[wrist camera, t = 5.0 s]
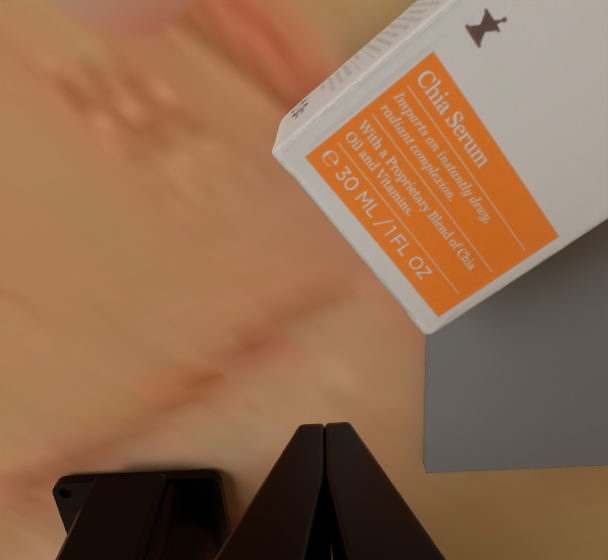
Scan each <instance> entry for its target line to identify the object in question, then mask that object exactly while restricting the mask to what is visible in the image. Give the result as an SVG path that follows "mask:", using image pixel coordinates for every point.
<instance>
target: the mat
mask: <svg viewBox="0 0 608 560" xmlns="http://www.w3.org/2000/svg"><path fill="white" fill-rule="evenodd" d="M423 462H424V466H425V470H426V473H437V472H461V471H484V470H507V469H530V468H554V467H577V466H600V465H608V219H607V220H605V221H604V222H602V223H601V224H599V225H598V226H596V227H595V228H593V229H592V230H590V231H589V232H587V233H585V234H584V235H582V236H581V237H579V238H578V239H576V240H575V241H573V242H572V243H570V244H569V245H567V246H566V247H565V248H563V249H562V250H560V251H558V252H557V253H555V254H554V255H552V256H550V257H549V258H547V259H546V260H545V261H543V262H542V263H540V264H539V265H537V266H535V267H534V268H533V269H531V270H530V271H528V272H527V273H525V274H524V275H522V276H521V277H519V278H517V279H516V280H514V281H513V282H511V283H510V284H508V285H507V286H505V287H504V288H502V289H501V290H499V291H498V292H496V293H495V294H493V295H492V296H490V297H488V298H487V299H485V300H484V301H482V302H481V303H479V304H478V305H476V306H475V307H473V308H472V309H470V310H469V311H467V312H466V313H464V314H463V315H461V316H460V317H458V318H457V319H455V320H454V321H452V322H450V323H449V324H447V325H446V326H444V327H443V328H441V329H440V330H438V331H437V332H435V333H433V334H426V358H425V404H424V450H423Z"/></svg>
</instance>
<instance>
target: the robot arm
mask: <svg viewBox="0 0 608 560" xmlns="http://www.w3.org/2000/svg"><path fill="white" fill-rule="evenodd" d="M205 482H208V483H211V484H210V485H209V484H206V483H205ZM67 489H68V490H67ZM53 496H54V499H55V501H56V504H57V507H58V510H59V513H60V516H61V518H62V521H63V524H64V527H65V530H66V532H67V537H66V539H65V541H64V543H63V545H62V547H61V549H60V551H59V553H58V555H57V558H56V560H332V556H333V560H446V559H445V558H444V556H443V555H442V554H441V552H440V551H439V549H438V548H437V546H436V545H435V544H434V542H433V541H432V539H431V538H430V536H429V535H428V534H427V532H426V531H425V529H424V528H423V526H422V525H421V524H420V522H419V521H418V519H417V518H416V516H415V515H414V514H413V512H412V511H411V509H410V508H409V507H408V505H407V504H406V502H405V501H404V499H403V498H402V497H401V495H400V494H399V492H398V491H397V489H396V488H395V487H394V485H393V484H392V482H391V481H390V479H389V478H388V477H387V475H386V474H385V472H384V471H383V469H382V468H381V467H380V465H379V464H378V462H377V461H376V459H375V458H374V457H373V455H372V454H371V452H370V451H369V449H368V448H367V447H366V445H365V444H364V442H363V441H362V439H361V438H360V437H359V435H358V434H357V432H356V431H355V429H354V428H353V427H352V425H351V424H350V423H348V422H340V423H328V424H326V426H325V427H324V425H323V424H303V425H300V426H299V427H298V429H297V430H296V432H295V433H294V435H293V437H292V438H291V440H290V441H289V443H288V444H287V446H286V448H285V449H284V451H283V452H282V454H281V455H280V457H279V459H278V460H277V462H276V463H275V465H274V467H273V468H272V470H271V471H270V473H269V474H268V476H267V478H266V479H265V481H264V482H263V484H262V485H261V487H260V489H259V490H258V492H257V493H256V495H255V497H254V498H253V500H252V501H251V503H250V504H249V506H248V508H247V509H246V511H245V512H244V514H243V515H242V517H241V519H240V520H239V522H238V523H237V525H236V527H235V528H234V530H233V531H232V533H231V528H230V522H229V516H228V511H227V505H226V500H225V494H224V489H223V483H222V478H221V476H220V475H219V474H218V473H217V472H215V471H213V470H188V471H166V472H143V473H120V474H98V475H75V476H63V477H61V478H59V479H58V481H57V483H56V485H55V486H54V488H53ZM331 544H332V545H331Z"/></svg>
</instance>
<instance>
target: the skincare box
mask: <svg viewBox="0 0 608 560" xmlns="http://www.w3.org/2000/svg"><path fill="white" fill-rule="evenodd" d="M272 153H273V156H274V157H275V158H276V159H277V161H278V162H279V163H280V164H281V165H282V166H283V167H284V168H285V169H286V170H287V171H288V172H289V173H290V174H291V175H292V176H293V177H294V178H295V179H296V180H297V181H298V183H299V184H300V185H301V186H302V187H303V189H304V190H305V191H306V192H307V193H308V195H309V196H310V197H311V198H312V199H313V201H314V202H315V203H316V204H317V205H318V207H319V208H320V209H321V210H322V211H323V213H324V214H325V215H326V216H327V217H328V219H329V220H330V221H331V222H332V223H333V225H334V226H335V227H336V228H337V229H338V231H339V232H340V233H341V234H342V235H343V237H344V238H345V239H346V240H347V241H348V243H349V244H350V245H351V246H352V247H353V249H354V250H355V251H356V252H357V253H358V255H359V256H360V257H361V258H362V259H363V261H364V262H365V263H366V264H367V265H368V266H369V268H370V269H371V270H372V271H373V272H374V274H375V275H376V276H377V277H378V278H379V280H380V281H381V282H382V283H383V284H384V286H385V287H386V288H387V289H388V290H389V292H390V293H391V294H392V295H393V296H394V297H395V299H396V300H397V301H398V302H399V303H400V305H401V306H402V307H403V308H404V309H405V311H406V312H407V313H408V315H409V316H410V318H411V320H412V321H413V322H414V323H415V324H416V325H417V327H418V328H419V329H420V330H421V331H422V332H423V333H424V334H433V333H435V332H437V331H438V330H440V329H441V328H443V327H444V326H446V325H447V324H449V323H450V322H452V321H454V320H455V319H457V318H458V317H460V316H461V315H463V314H464V313H466V312H467V311H469V310H470V309H472V308H473V307H475V306H476V305H478V304H479V303H481V302H482V301H484V300H485V299H487V298H488V297H490V296H492V295H493V294H495V293H496V292H498V291H499V290H501V289H502V288H504V287H505V286H507V285H508V284H510V283H511V282H513V281H514V280H516V279H517V278H519V277H521V276H522V275H524V274H525V273H527V272H528V271H530V270H531V269H533V268H534V267H535V266H537V265H539V264H540V263H542V262H543V261H545V260H546V259H547V258H549V257H550V256H552V255H554V254H555V253H557V252H558V251H560V250H562V249H563V248H565V247H566V246H567V245H569V244H570V243H572V242H573V241H575V240H576V239H578V238H579V237H581V236H582V235H584V234H585V233H587V232H589V231H590V230H592V229H593V228H595V227H596V226H598V225H599V224H601V223H602V222H604V221H605V220H607V219H608V0H417V1H416V2H415V3H413V4H412V5H411V6H410V7H409V8H408V9H407V10H406V11H405V12H403V13H402V14H401V15H400V16H399V17H398V18H397V19H395V20H394V21H393V22H392V23H391V24H390V25H388V26H387V27H386V28H385V29H384V30H383V31H382V32H380V33H379V34H378V35H377V36H376V37H375V38H374V39H372V40H371V41H370V42H369V43H368V44H367V45H365V46H364V47H363V48H362V49H361V50H360V51H359V52H357V53H356V54H355V55H354V56H353V57H352V58H350V59H349V60H348V61H347V62H346V63H345V64H343V65H342V66H341V67H340V68H339V69H338V70H337V71H335V72H334V73H333V74H332V75H331V76H330V77H328V78H327V79H326V80H325V81H324V82H323V83H322V84H320V85H319V86H318V87H317V88H316V89H315V90H313V91H312V92H311V93H310V94H309V95H308V96H306V97H305V98H304V99H303V100H302V101H301V102H300V103H299V104H297V105H296V106H295V107H294V108H293V109H292V110H291V111H290V112H289V113H288V114H286V115H285V117H284V118H283V119H282V121H281V123H280V126H279V129H278V134H277V137H276V141H275V144H274V147H273V150H272Z"/></svg>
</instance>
